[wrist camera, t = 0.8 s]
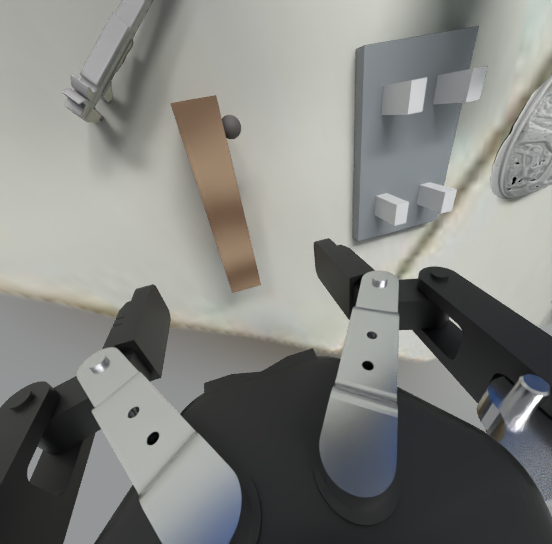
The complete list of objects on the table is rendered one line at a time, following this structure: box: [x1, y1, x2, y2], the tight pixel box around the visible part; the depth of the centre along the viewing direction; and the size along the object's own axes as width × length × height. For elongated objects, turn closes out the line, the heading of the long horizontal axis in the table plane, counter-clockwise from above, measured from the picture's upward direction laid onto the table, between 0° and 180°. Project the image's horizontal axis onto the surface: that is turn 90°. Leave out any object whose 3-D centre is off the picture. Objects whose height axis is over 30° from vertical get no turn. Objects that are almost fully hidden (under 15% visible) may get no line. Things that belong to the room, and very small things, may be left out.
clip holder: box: [353, 26, 488, 241], centre depth 27 cm, size 20×12×6 cm, turn 9°
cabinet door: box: [171, 95, 261, 293], centre depth 24 cm, size 16×4×8 cm, turn 9°
